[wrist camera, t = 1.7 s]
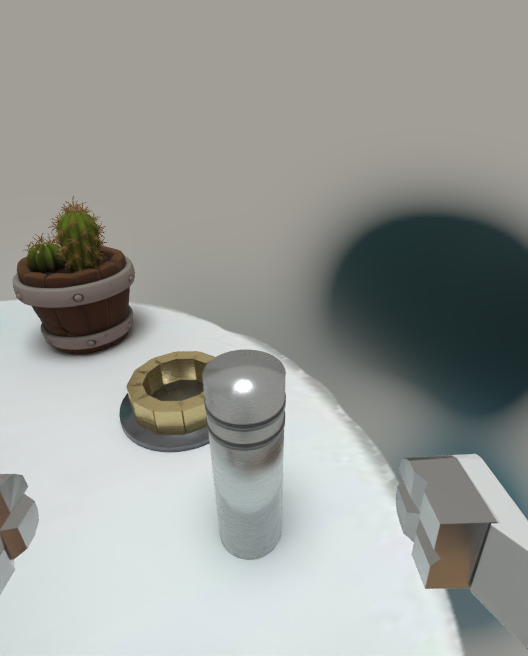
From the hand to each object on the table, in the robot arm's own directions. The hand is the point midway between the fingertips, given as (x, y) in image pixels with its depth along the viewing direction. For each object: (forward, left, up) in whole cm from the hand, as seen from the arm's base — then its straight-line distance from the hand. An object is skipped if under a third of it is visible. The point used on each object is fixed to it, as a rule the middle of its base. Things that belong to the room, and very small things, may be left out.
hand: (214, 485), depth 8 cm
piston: (0, +12, -21) cm, 24 cm away
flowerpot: (-24, +41, -21) cm, 52 cm away
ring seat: (-8, +26, -21) cm, 34 cm away
